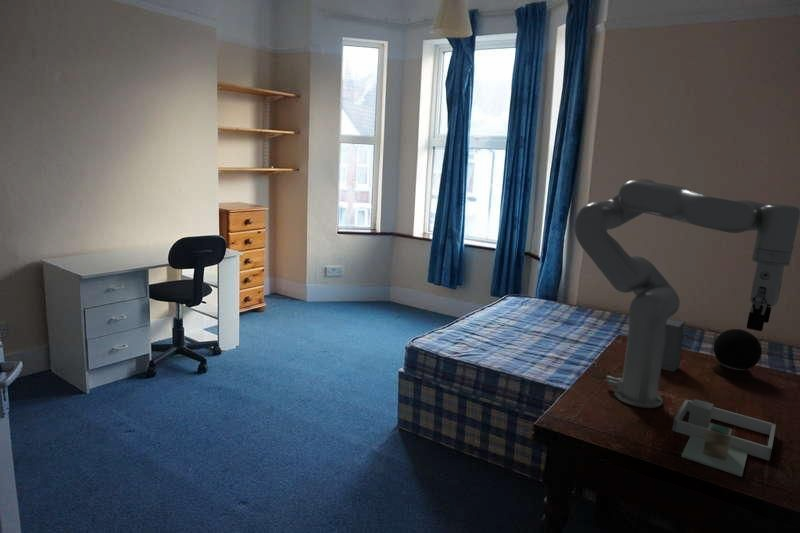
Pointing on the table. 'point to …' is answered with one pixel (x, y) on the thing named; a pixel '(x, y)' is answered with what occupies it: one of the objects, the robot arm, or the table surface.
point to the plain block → (700, 413)
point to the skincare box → (673, 345)
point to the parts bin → (733, 419)
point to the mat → (731, 464)
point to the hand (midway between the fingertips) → (757, 325)
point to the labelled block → (717, 441)
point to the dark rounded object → (736, 354)
